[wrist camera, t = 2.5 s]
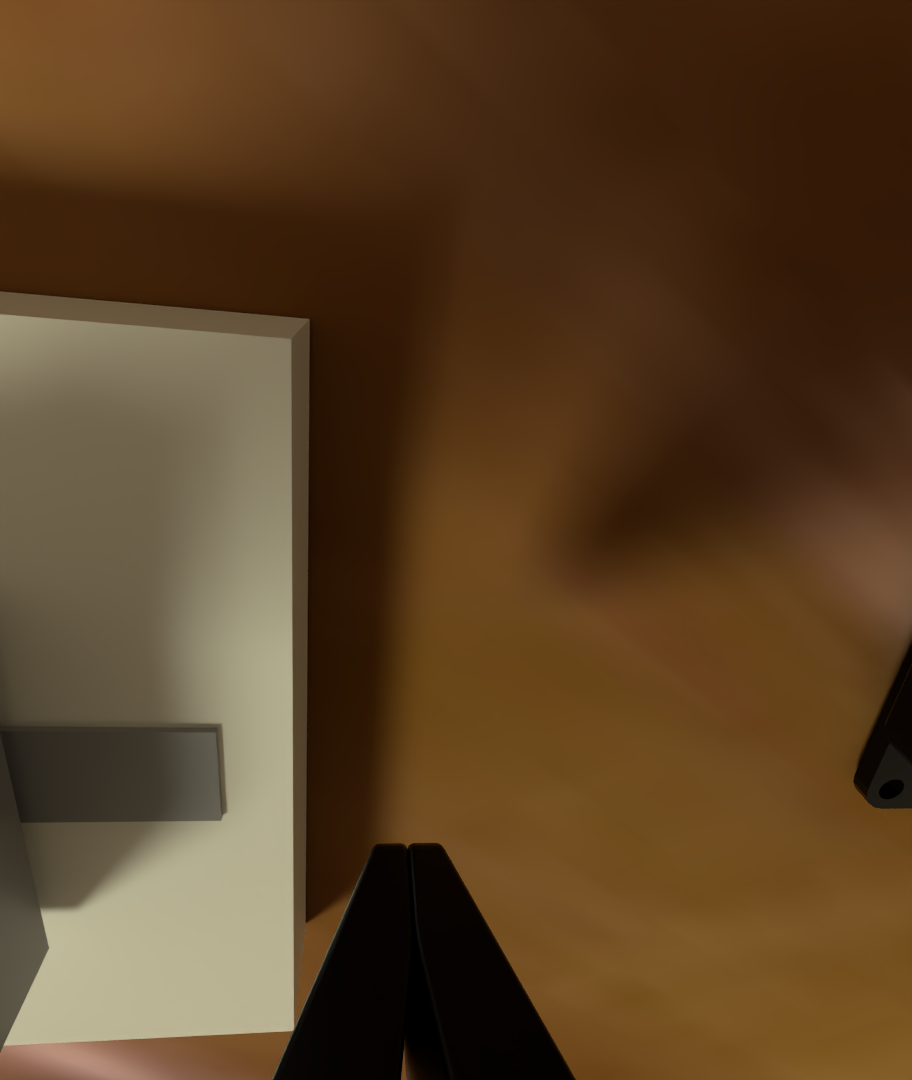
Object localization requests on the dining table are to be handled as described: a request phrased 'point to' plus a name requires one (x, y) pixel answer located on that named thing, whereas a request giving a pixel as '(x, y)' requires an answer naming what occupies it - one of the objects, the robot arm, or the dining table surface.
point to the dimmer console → (156, 661)
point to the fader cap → (16, 911)
